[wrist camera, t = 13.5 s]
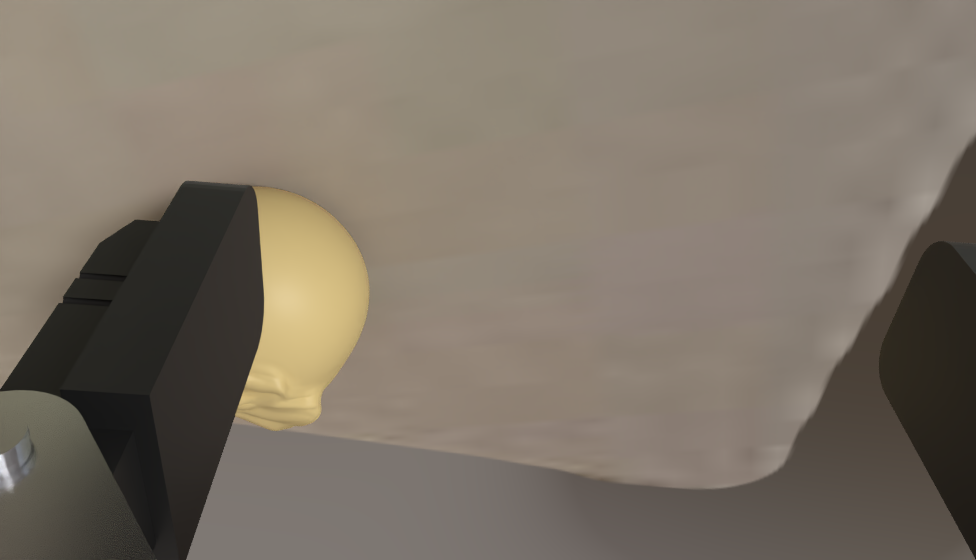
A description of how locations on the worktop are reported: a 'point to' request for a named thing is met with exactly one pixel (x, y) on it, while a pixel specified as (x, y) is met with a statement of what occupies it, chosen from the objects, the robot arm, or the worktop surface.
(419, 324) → the worktop surface
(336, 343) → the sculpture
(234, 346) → the robot arm
